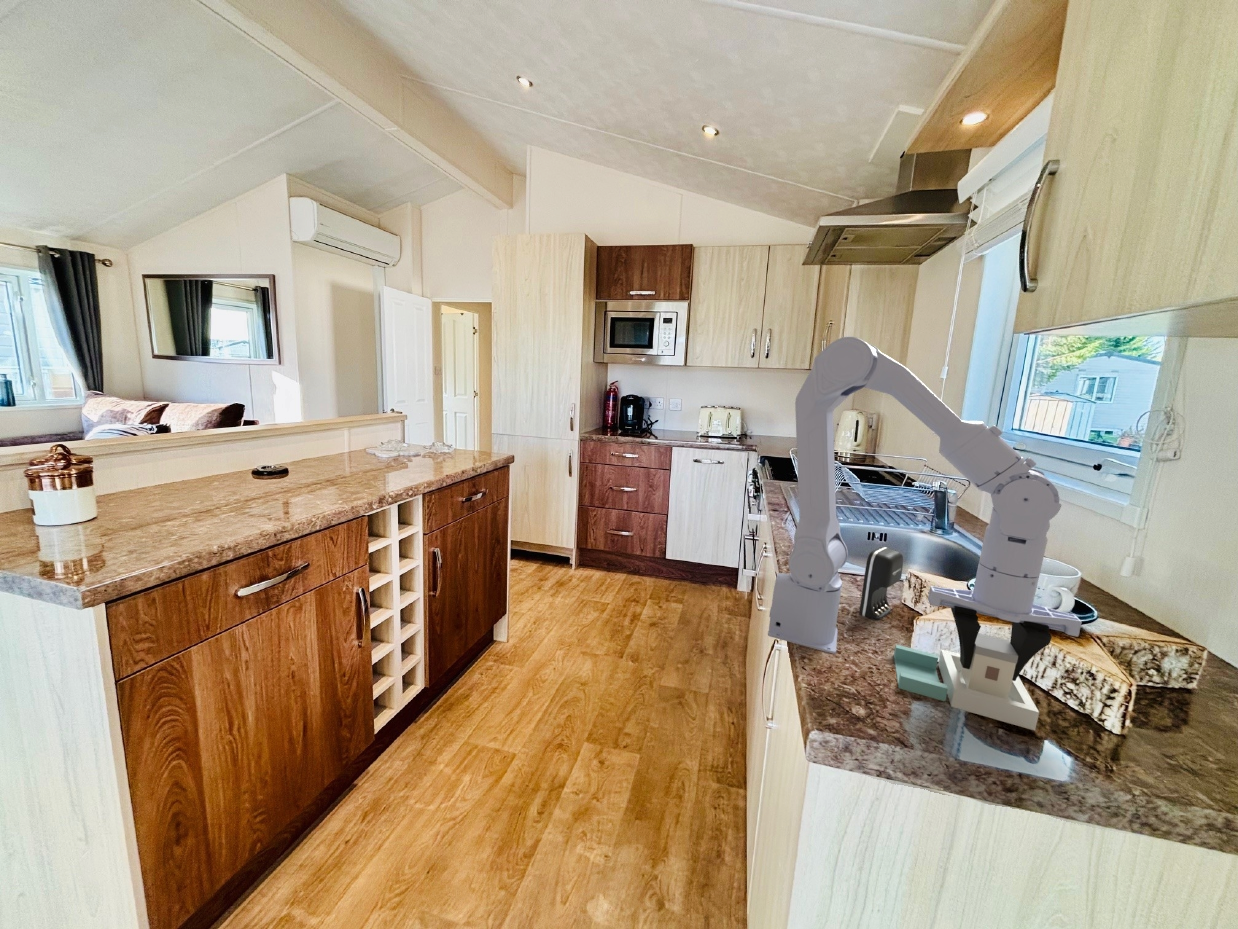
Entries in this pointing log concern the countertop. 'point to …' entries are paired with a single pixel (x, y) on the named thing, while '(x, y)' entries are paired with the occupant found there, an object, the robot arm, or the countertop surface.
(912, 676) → the holder
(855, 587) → the countertop surface
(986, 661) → the block
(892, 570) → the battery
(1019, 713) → the tray
